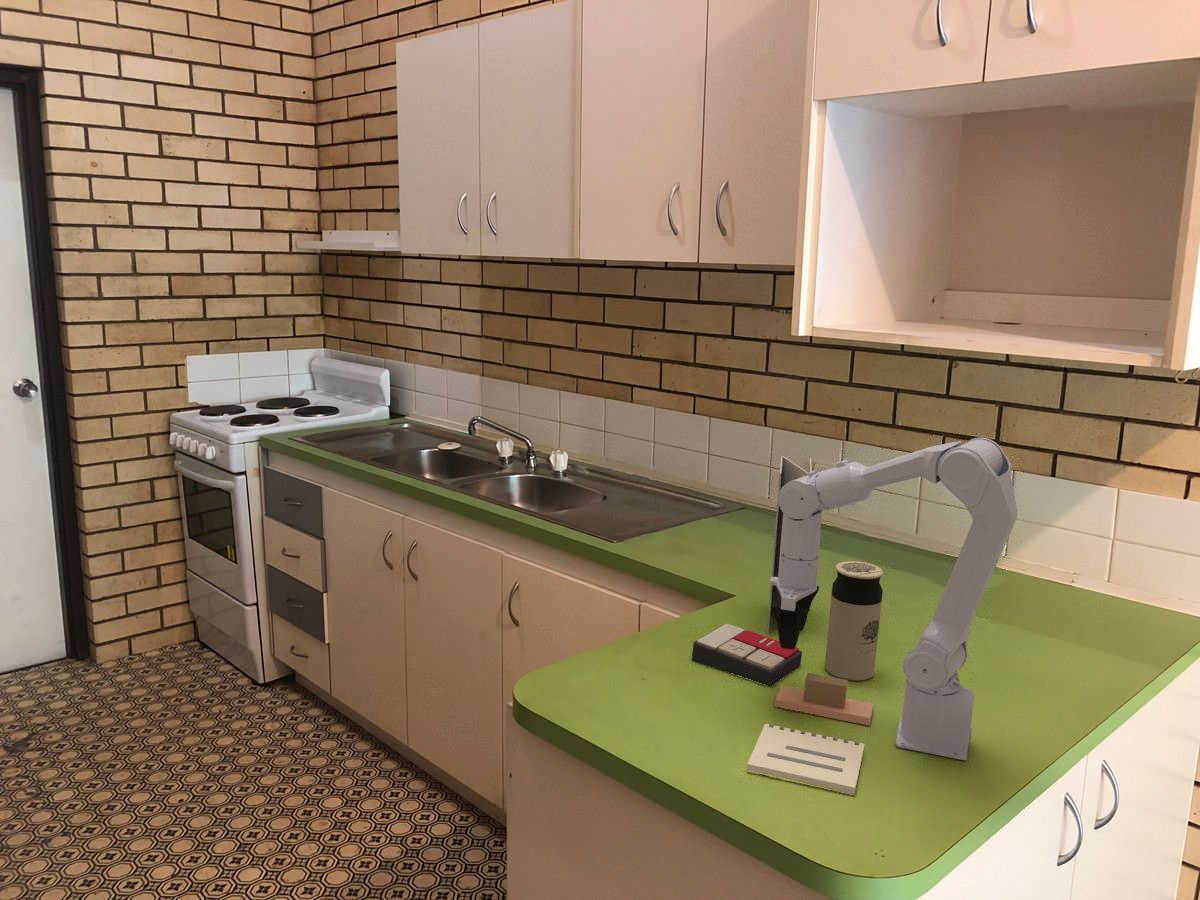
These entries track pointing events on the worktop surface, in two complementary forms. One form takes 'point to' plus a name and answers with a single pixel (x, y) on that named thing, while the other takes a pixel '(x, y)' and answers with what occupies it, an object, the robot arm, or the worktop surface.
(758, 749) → the cream notepad
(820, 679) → the pink block with handle
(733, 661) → the calculator
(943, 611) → the robot arm
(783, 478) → the brochure
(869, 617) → the travel mug
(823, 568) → the worktop surface
